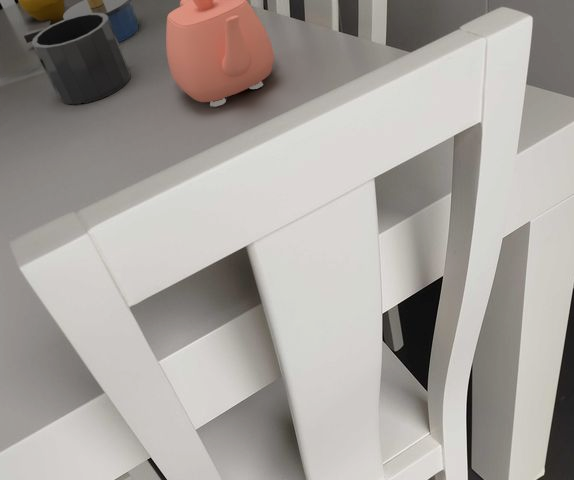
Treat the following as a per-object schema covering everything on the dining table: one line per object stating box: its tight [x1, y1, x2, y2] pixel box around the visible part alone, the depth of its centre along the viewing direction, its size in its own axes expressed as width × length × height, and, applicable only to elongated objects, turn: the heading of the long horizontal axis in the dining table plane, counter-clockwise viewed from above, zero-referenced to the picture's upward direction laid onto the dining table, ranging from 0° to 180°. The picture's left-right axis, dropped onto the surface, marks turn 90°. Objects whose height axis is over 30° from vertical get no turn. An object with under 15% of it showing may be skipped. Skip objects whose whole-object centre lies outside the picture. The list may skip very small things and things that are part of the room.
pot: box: [31, 13, 132, 105], centre depth 90 cm, size 12×12×8 cm
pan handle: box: [23, 24, 51, 44], centre depth 105 cm, size 8×2×1 cm, turn 102°
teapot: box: [165, 0, 275, 103], centre depth 77 cm, size 13×20×12 cm, turn 27°
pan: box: [108, 1, 140, 43], centre depth 106 cm, size 12×12×4 cm
